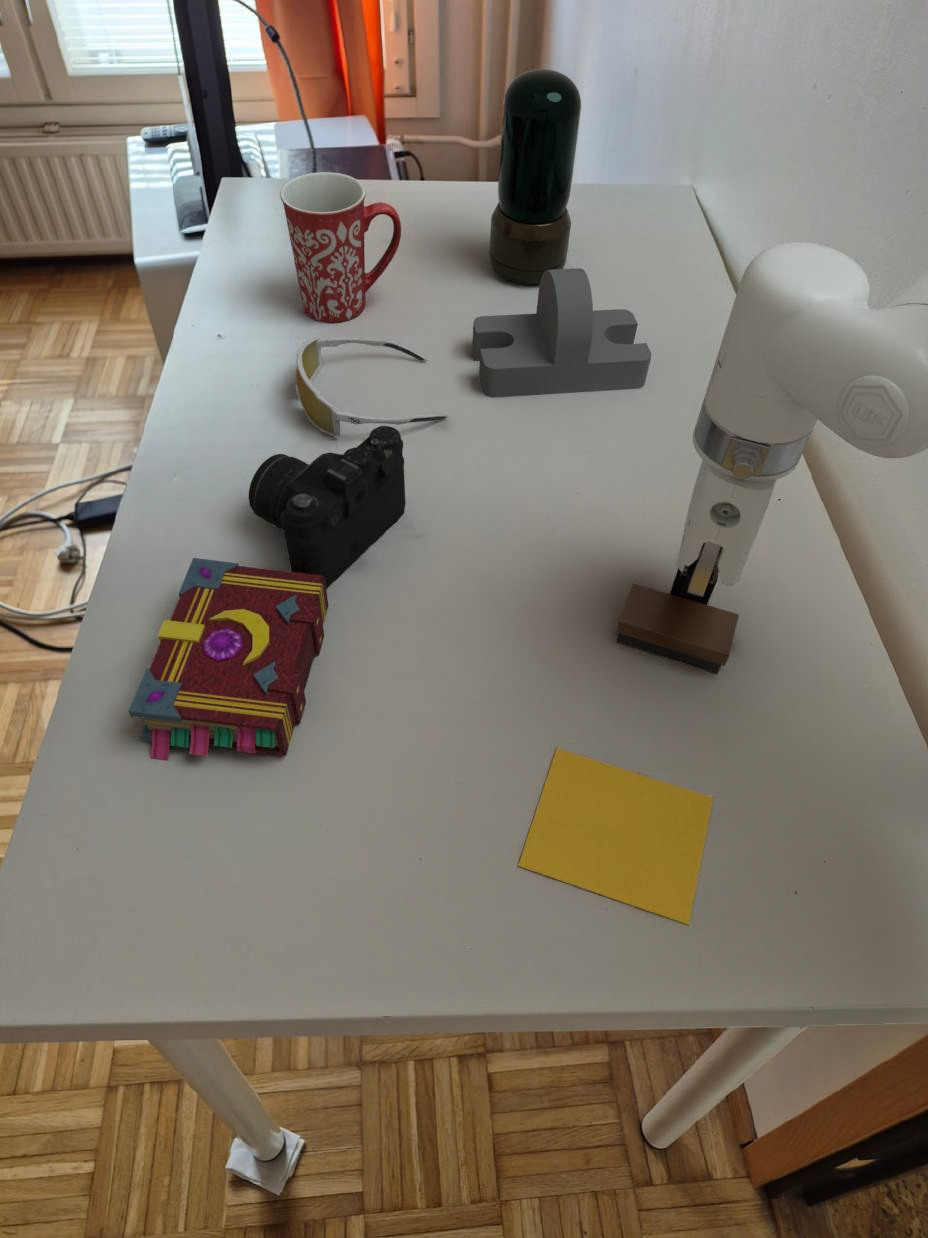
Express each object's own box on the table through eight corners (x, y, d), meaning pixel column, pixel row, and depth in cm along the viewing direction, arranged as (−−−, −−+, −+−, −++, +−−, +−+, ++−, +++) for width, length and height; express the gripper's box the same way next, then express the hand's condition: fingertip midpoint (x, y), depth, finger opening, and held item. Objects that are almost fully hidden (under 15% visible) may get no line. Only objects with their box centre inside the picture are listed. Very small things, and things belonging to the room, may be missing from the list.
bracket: (647, 387, 96) (668, 297, 88) (483, 398, 94) (489, 306, 86) (625, 336, 102) (643, 247, 94) (470, 345, 100) (474, 254, 91)
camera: (333, 464, 87) (323, 378, 79) (419, 510, 83) (419, 426, 75) (231, 547, 79) (209, 462, 72) (321, 602, 76) (309, 519, 68)
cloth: (712, 798, 65) (713, 797, 65) (688, 925, 59) (689, 924, 59) (556, 749, 68) (556, 747, 67) (517, 866, 62) (518, 865, 61)
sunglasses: (286, 365, 96) (287, 324, 92) (420, 365, 100) (426, 326, 97) (304, 450, 87) (306, 409, 84) (450, 446, 92) (458, 407, 88)
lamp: (556, 247, 114) (579, 55, 97) (572, 287, 108) (599, 90, 91) (483, 249, 113) (493, 56, 96) (494, 290, 107) (507, 92, 90)
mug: (293, 329, 101) (277, 212, 90) (295, 285, 106) (281, 171, 96) (404, 327, 102) (402, 211, 91) (400, 283, 107) (398, 170, 97)
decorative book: (332, 607, 75) (327, 568, 71) (286, 775, 65) (277, 740, 61) (202, 592, 76) (190, 553, 72) (136, 756, 66) (118, 720, 62)
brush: (729, 636, 75) (739, 614, 73) (719, 677, 72) (729, 655, 70) (626, 605, 77) (632, 582, 74) (613, 643, 74) (619, 621, 72)
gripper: (793, 515, 56) (716, 678, 71) (817, 381, 65) (745, 550, 80) (677, 484, 58) (625, 650, 72) (716, 357, 67) (663, 527, 81)
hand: (688, 597), depth 76 cm, fingers closed
